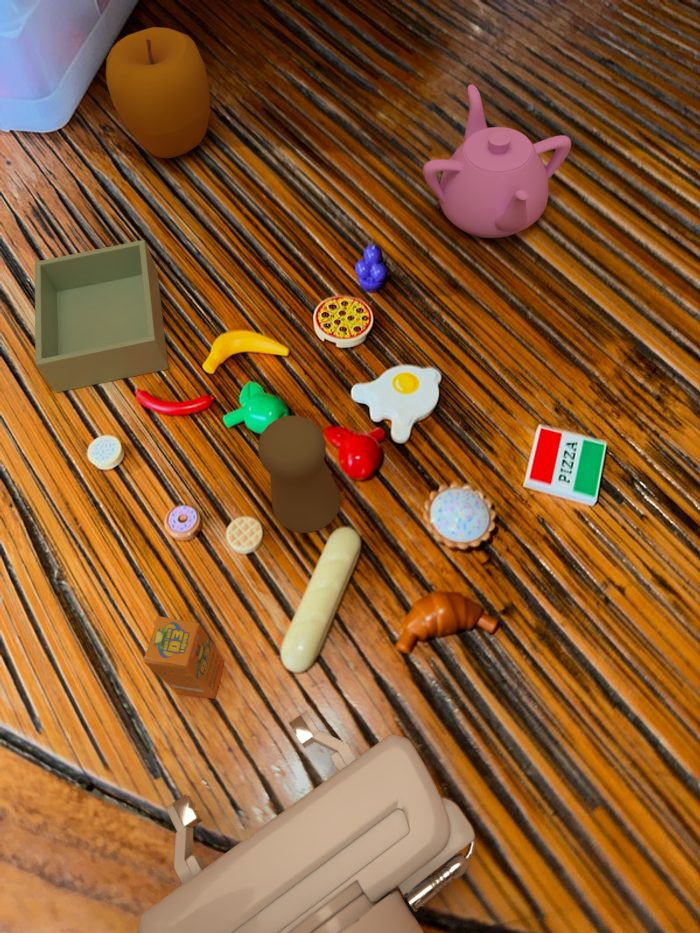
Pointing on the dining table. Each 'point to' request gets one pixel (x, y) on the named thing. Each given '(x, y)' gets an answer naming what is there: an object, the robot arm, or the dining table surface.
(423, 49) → the dining table surface
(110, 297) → the bin
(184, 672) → the supplement box
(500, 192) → the teapot
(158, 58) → the apple
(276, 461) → the cork
